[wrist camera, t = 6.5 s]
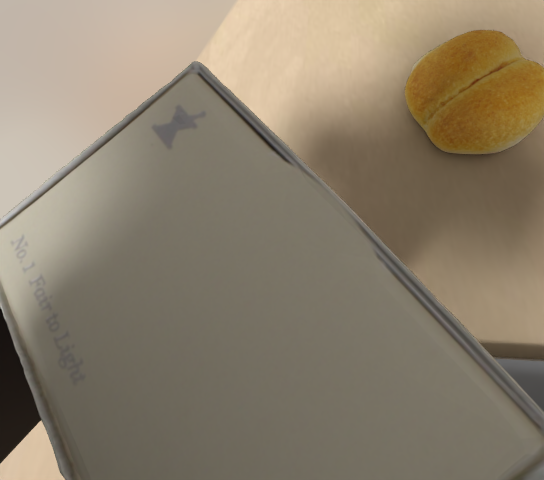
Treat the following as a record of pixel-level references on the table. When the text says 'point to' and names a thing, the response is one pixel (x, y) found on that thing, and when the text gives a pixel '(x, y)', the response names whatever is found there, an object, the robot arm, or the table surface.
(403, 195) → the table surface
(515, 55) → the bread roll
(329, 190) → the skincare box
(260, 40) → the table surface
